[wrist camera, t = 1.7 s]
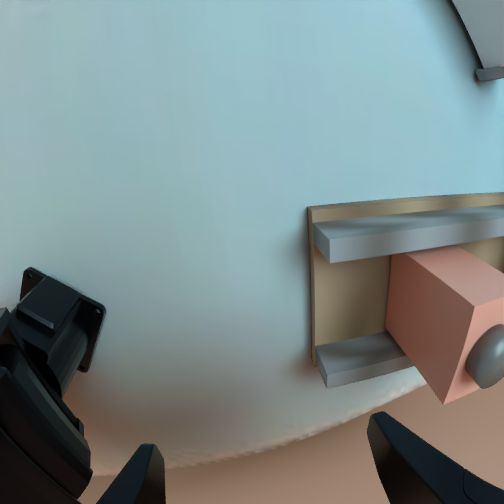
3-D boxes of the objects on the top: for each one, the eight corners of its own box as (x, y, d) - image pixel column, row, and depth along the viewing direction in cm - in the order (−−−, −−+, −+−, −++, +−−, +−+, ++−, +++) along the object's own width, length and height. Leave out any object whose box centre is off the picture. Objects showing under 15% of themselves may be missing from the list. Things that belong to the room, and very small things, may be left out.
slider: (384, 326, 20) (453, 419, 12) (391, 244, 18) (491, 320, 10) (430, 314, 20) (505, 393, 12) (441, 236, 18) (542, 299, 10)
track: (311, 358, 22) (327, 400, 18) (307, 206, 18) (332, 227, 14) (491, 310, 23) (520, 334, 19) (511, 192, 19) (549, 205, 15)
